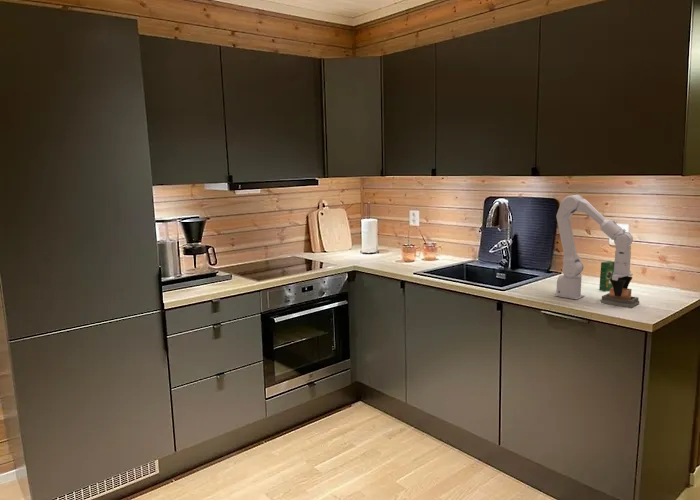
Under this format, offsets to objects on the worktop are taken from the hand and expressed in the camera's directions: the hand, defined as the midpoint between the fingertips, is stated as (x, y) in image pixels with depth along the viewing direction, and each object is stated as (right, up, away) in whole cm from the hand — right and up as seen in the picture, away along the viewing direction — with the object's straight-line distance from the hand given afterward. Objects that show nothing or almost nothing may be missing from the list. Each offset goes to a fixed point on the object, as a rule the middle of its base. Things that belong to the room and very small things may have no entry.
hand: (620, 294), depth 218 cm
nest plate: (0, -4, +1) cm, 4 cm away
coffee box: (+6, 0, +24) cm, 25 cm away
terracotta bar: (0, -2, 0) cm, 2 cm away
